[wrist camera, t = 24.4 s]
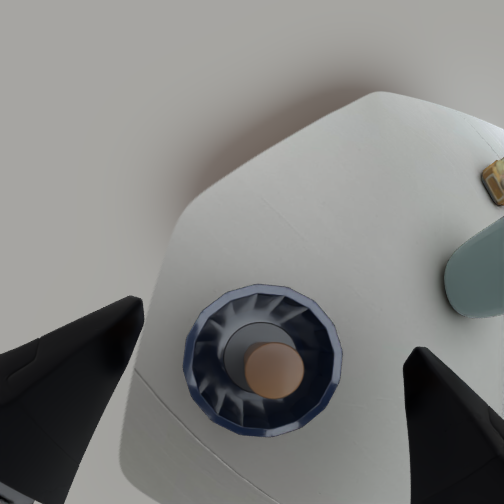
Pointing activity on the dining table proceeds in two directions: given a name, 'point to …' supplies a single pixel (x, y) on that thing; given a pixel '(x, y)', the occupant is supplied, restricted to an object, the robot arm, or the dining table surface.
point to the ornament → (495, 181)
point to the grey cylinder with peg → (263, 360)
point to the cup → (478, 274)
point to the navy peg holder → (250, 404)
